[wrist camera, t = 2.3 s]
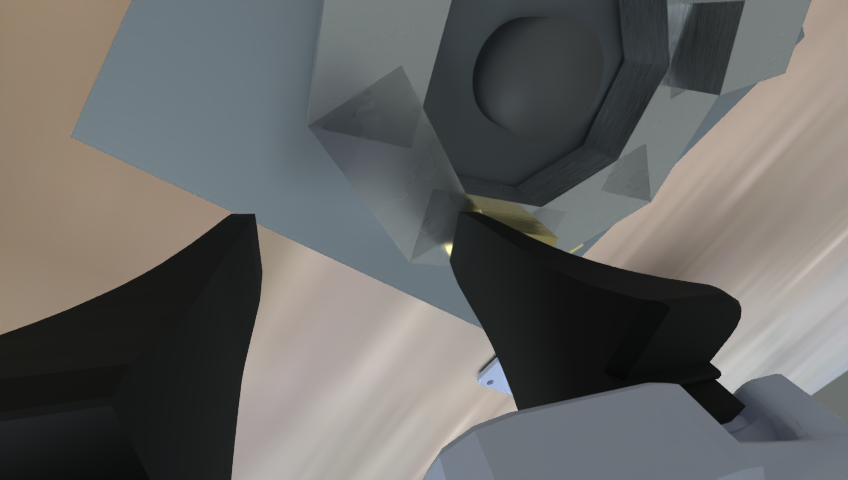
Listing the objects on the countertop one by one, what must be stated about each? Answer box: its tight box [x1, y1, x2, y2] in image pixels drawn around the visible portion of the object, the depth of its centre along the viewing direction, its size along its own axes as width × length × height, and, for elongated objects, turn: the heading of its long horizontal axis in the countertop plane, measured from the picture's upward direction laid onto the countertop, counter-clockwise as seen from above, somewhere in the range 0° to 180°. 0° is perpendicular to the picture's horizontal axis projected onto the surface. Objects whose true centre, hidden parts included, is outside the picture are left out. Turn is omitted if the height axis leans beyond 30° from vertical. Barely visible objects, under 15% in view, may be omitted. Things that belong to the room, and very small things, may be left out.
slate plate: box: [71, 0, 804, 329], centre depth 12 cm, size 20×20×3 cm
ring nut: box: [307, 0, 811, 266], centre depth 11 cm, size 14×14×4 cm
